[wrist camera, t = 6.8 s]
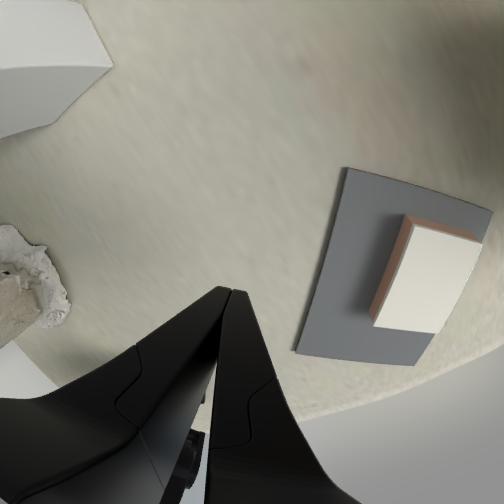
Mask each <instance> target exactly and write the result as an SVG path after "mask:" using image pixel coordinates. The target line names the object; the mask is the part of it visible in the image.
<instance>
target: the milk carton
mask: <svg viewBox="0 0 504 504" xmlns="http://www.w3.org/2000/svg"><path fill="white" fill-rule="evenodd" d="M112 67H113V63H112V61H111V59H110V57H109V55H108V54H107V52H106V50H105V48H104V46H103V44H102V42H101V40H100V38H99V36H98V34H97V33H96V31H95V29H94V27H93V25H92V23H91V21H90V19H89V17H88V15H87V13H86V11H85V9H84V7H83V5H82V4H79V3H75V2H71V1H67V0H0V139H1V138H4V137H7V136H10V135H13V134H17V133H20V132H23V131H27V130H30V129H34V128H37V127H41V126H45V125H49V124H52V123H54V122H55V121H56V120H57V119H58V118H59V117H60V116H61V115H62V114H63V113H64V112H65V111H66V110H67V109H68V107H69V106H70V105H71V104H73V103H74V102H75V101H76V100H77V99H78V98H79V97H80V96H81V95H82V94H83V93H84V92H85V91H86V90H87V89H88V88H89V87H90V86H92V85H93V84H94V83H95V82H96V81H97V80H98V79H99V78H101V77H102V76H103V75H104V74H105V73H106V72H108V71H109V70H110V69H111V68H112Z"/></svg>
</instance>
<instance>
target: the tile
mask: <svg viewBox="0 0 504 504" xmlns="http://www.w3.org/2000/svg"><path fill="white" fill-rule="evenodd" d="M482 247H483V244H482V243H481V242H480V241H479V240H478V239H477V238H476V237H475V236H474V235H473V234H472V233H471V232H468V231H465V230H461V229H458V228H455V227H451V226H448V225H444V224H441V223H437V222H433V221H430V220H426V219H422V218H419V217H415V216H411V215H407V214H405V216H404V219H403V222H402V225H401V228H400V231H399V234H398V236H397V239H396V242H395V245H394V248H393V251H392V253H391V256H390V259H389V261H388V264H387V267H386V269H385V272H384V274H383V277H382V279H381V282H380V284H379V287H378V289H377V291H376V294H375V296H374V299H373V301H372V303H371V306H370V308H369V312H370V315H371V319H372V323H373V326H374V327H382V328H390V329H398V330H407V331H416V332H425V333H435V334H438V333H439V331H440V330H441V328H442V326H443V325H444V323H445V321H446V320H447V318H448V316H449V314H450V313H451V311H452V309H453V307H454V305H455V304H456V302H457V300H458V298H459V296H460V294H461V292H462V290H463V288H464V286H465V284H466V282H467V280H468V278H469V276H470V274H471V272H472V270H473V268H474V266H475V263H476V261H477V259H478V257H479V254H480V252H481V250H482Z"/></svg>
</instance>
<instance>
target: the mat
mask: <svg viewBox="0 0 504 504" xmlns="http://www.w3.org/2000/svg"><path fill="white" fill-rule="evenodd" d="M405 214H407V215H411V216H415V217H419V218H422V219H426V220H430V221H433V222H437V223H441V224H444V225H448V226H451V227H455V228H458V229H461V230H465V231H468V232H471V233H472V234H473V235H474V236H475V237H476V238H477V239H478V240H479V241H480V242H482V240H483V237H484V235H485V232H486V230H487V227H488V225H489V222H490V219H491V216H492V214H493V212H492V211H490V210H488V209H485V208H482V207H480V206H477V205H474V204H471V203H469V202H466V201H463V200H460V199H457V198H454V197H451V196H448V195H445V194H442V193H439V192H436V191H433V190H430V189H426V188H423V187H420V186H416V185H413V184H410V183H406V182H403V181H399V180H395V179H392V178H388V177H384V176H381V175H377V174H373V173H369V172H365V171H361V170H357V169H352V168H348V167H347V172H346V176H345V180H344V185H343V189H342V193H341V197H340V201H339V205H338V209H337V213H336V217H335V221H334V225H333V229H332V232H331V236H330V240H329V243H328V247H327V251H326V254H325V258H324V261H323V265H322V268H321V272H320V275H319V279H318V282H317V285H316V289H315V292H314V295H313V298H312V302H311V305H310V308H309V311H308V314H307V317H306V321H305V324H304V327H303V330H302V333H301V336H300V339H299V342H298V345H297V348H296V352H295V354H301V355H308V356H315V357H323V358H331V359H339V360H348V361H357V362H367V363H378V364H391V365H405V366H415V364H416V363H417V361H418V360H419V358H420V357H421V355H422V354H423V352H424V351H425V349H426V348H427V346H428V345H429V343H430V341H431V340H432V338H433V337H434V335H435V333H425V332H416V331H407V330H398V329H390V328H382V327H374V326H373V323H372V319H371V315H370V312H369V308H370V306H371V303H372V301H373V299H374V296H375V294H376V291H377V289H378V287H379V284H380V282H381V279H382V277H383V274H384V272H385V269H386V267H387V264H388V261H389V259H390V256H391V253H392V251H393V248H394V245H395V242H396V239H397V236H398V234H399V231H400V228H401V225H402V222H403V219H404V216H405Z"/></svg>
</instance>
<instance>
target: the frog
mask: <svg viewBox="0 0 504 504" xmlns="http://www.w3.org/2000/svg"><path fill="white" fill-rule="evenodd" d="M46 249H47V246H44V245H39V246H36V247H35V245H34V246H31V245H28V243H27V242H26V241H25V240H24V238H23V237H22V236H21V235H20V234H19V233H18V230H17V229H16V228H14V226H13V225H12V224H11V225H1V226H0V349H1V348H2V347H4V346H5V345H6V344H7V343H9V342H10V341H11V340H13V339H14V338H16V337H17V336H18V335H19V334H21V333H22V332H23V331H24V330H25V329H27V328H28V327H29V326H30V325H31V324H32V323H34V324H35V325H36V326H39V327H40V328H52V326H56V325H60V324H61V323H62V322H63V321H64V320H65V318H66V317H67V314H68V313H69V311H70V309H69V307H70V306H72V304H70V302H69V303H68V299H67V300H66V295H67V292H66V290H65V288H64V287H63V285H62V284H61V281H60V278H59V275H58V273H57V272H56V269H55V267H54V266H53V265H52V264H51V260H50V259H49V258H48V256H47V255H46V254H45V250H46ZM6 271H8V272H9V273H10V275H5V274H4V273H2V272H6Z"/></svg>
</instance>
